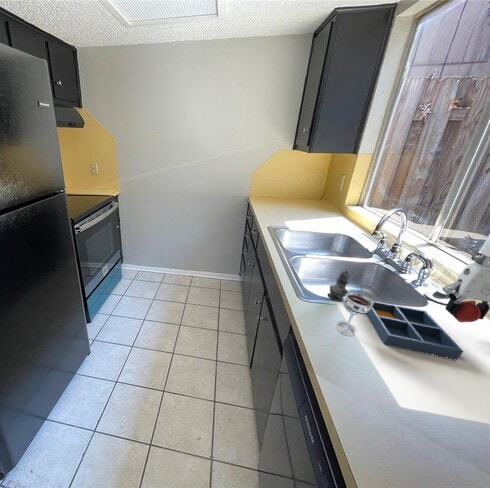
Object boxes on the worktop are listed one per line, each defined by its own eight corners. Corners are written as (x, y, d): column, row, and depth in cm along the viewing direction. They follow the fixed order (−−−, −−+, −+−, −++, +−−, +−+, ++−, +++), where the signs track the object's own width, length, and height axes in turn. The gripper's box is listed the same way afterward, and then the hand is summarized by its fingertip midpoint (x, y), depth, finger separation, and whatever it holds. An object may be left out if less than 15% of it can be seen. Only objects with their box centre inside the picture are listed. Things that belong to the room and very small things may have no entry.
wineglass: (343, 320, 84) (357, 290, 78) (363, 335, 78) (379, 304, 73) (327, 324, 82) (340, 293, 76) (347, 340, 76) (362, 308, 71)
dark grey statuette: (323, 292, 98) (333, 265, 92) (338, 293, 98) (350, 265, 92) (332, 302, 92) (343, 273, 87) (348, 302, 92) (361, 274, 87)
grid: (420, 318, 86) (425, 310, 85) (456, 360, 71) (463, 351, 70) (361, 307, 90) (365, 299, 89) (383, 344, 75) (388, 335, 74)
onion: (446, 321, 79) (459, 300, 76) (445, 312, 83) (458, 292, 79) (474, 331, 76) (489, 309, 72) (471, 321, 79) (486, 300, 76)
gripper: (466, 264, 70) (436, 316, 77) (552, 274, 65) (510, 328, 73) (448, 252, 76) (421, 301, 84) (524, 260, 72) (489, 312, 79)
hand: (463, 313), depth 78 cm, fingers closed on onion, 5 cm apart
